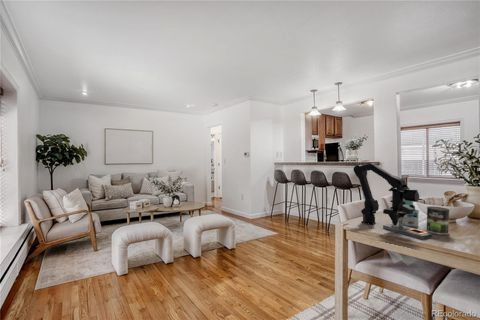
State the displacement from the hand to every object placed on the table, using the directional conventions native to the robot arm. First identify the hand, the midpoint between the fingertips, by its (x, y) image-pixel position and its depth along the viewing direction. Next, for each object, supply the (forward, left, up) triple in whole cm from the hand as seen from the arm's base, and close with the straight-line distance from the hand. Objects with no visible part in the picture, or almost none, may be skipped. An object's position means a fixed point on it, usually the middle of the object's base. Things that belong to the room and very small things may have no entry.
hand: (397, 224), depth 146 cm
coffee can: (+12, +18, -3) cm, 22 cm away
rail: (+5, 0, -3) cm, 6 cm away
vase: (-13, +30, -3) cm, 33 cm away
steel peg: (0, 0, -3) cm, 3 cm away
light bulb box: (-5, +20, -3) cm, 21 cm away
